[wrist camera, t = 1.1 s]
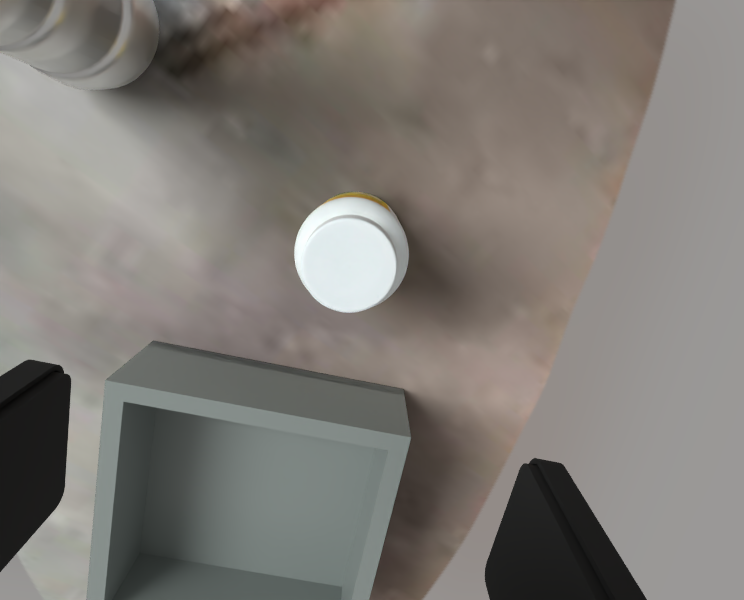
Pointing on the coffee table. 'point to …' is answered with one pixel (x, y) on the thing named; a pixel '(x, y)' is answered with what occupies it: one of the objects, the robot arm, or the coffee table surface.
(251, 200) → the coffee table surface
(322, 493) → the tote
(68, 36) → the plastic bottle
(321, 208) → the supplement bottle
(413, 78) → the coffee table surface
